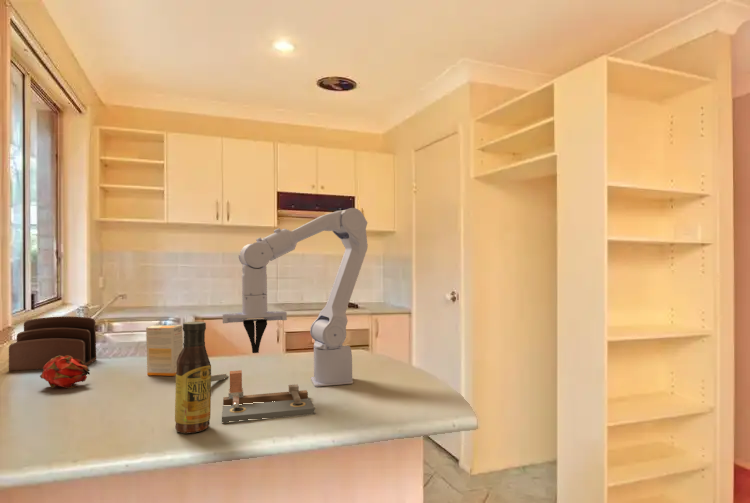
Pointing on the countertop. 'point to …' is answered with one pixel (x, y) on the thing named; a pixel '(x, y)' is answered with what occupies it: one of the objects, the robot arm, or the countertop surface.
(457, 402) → the countertop surface
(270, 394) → the rail
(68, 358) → the dragon fruit
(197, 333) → the sauce bottle
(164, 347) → the supplement box
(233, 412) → the bolt plate
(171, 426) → the countertop surface
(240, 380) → the orange handled lever
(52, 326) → the letter holder
